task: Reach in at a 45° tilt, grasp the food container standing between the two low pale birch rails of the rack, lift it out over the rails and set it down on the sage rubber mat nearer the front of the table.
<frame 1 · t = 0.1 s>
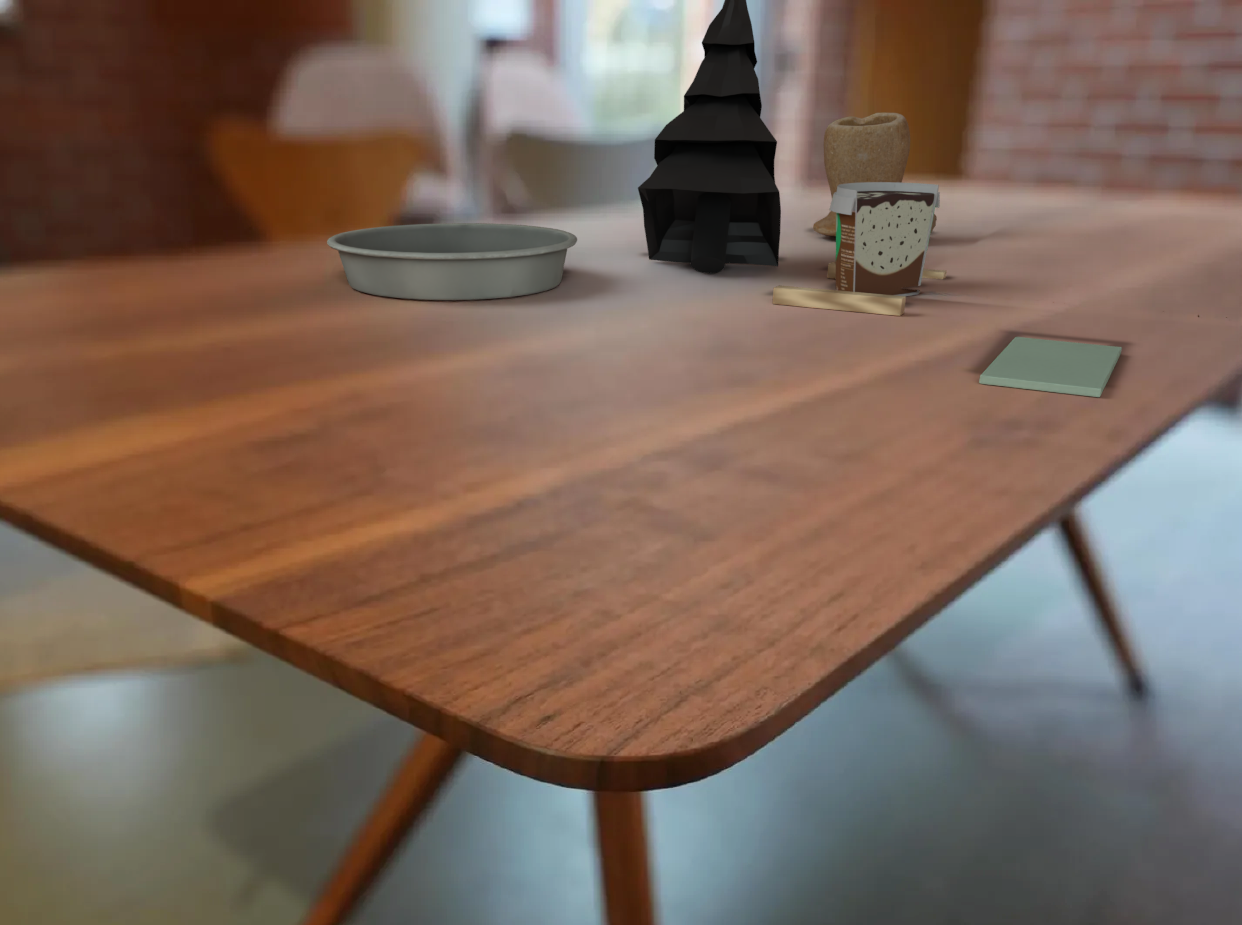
decorative tree: (713, 265, 131), on the table
stone cup: (870, 242, 150), on the table
mat: (1053, 368, 86), on the table
food container: (862, 296, 114), on the table
rack: (862, 294, 114), on the table
cake pan: (455, 284, 118), on the table
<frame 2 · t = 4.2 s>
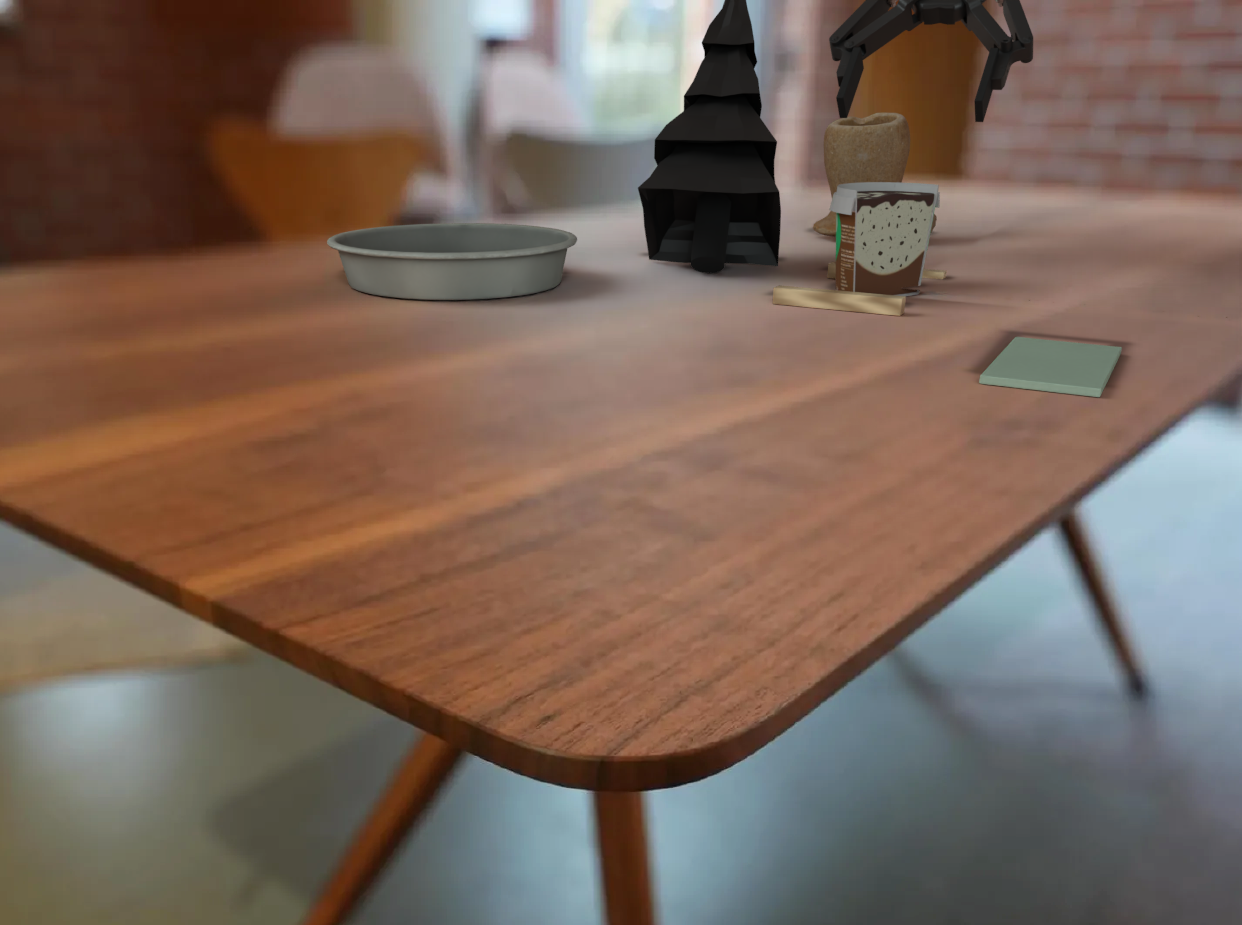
hand: (908, 110, 115), 16 cm above the table, tool tilted 45°, fingers open, 13 cm apart
nothing on the table moved.
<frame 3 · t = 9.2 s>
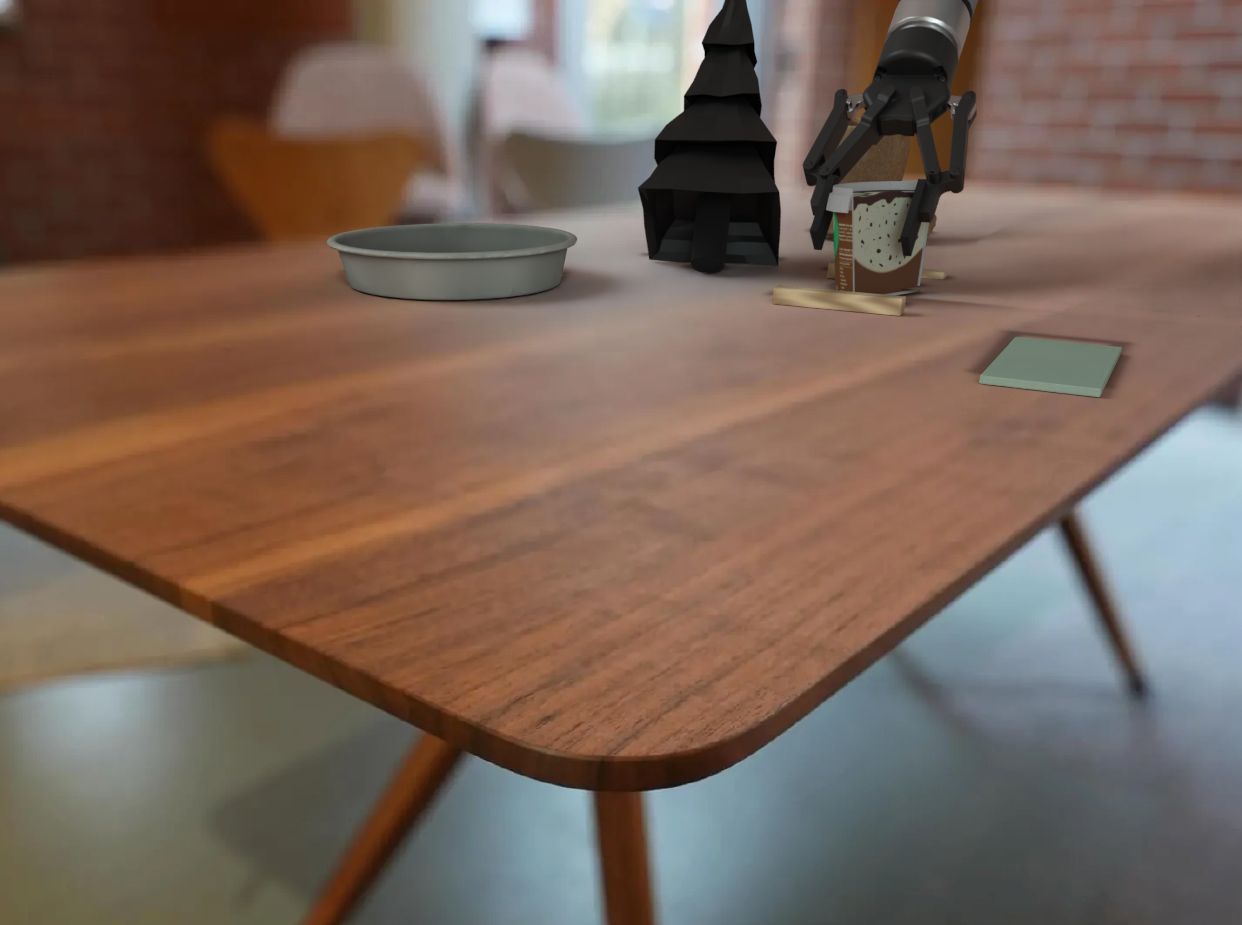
hand: (860, 243, 109), 5 cm above the table, tool tilted 45°, fingers closed on food container, 8 cm apart
food container: (862, 295, 114), on the table, touching gripper
everything else where it was.
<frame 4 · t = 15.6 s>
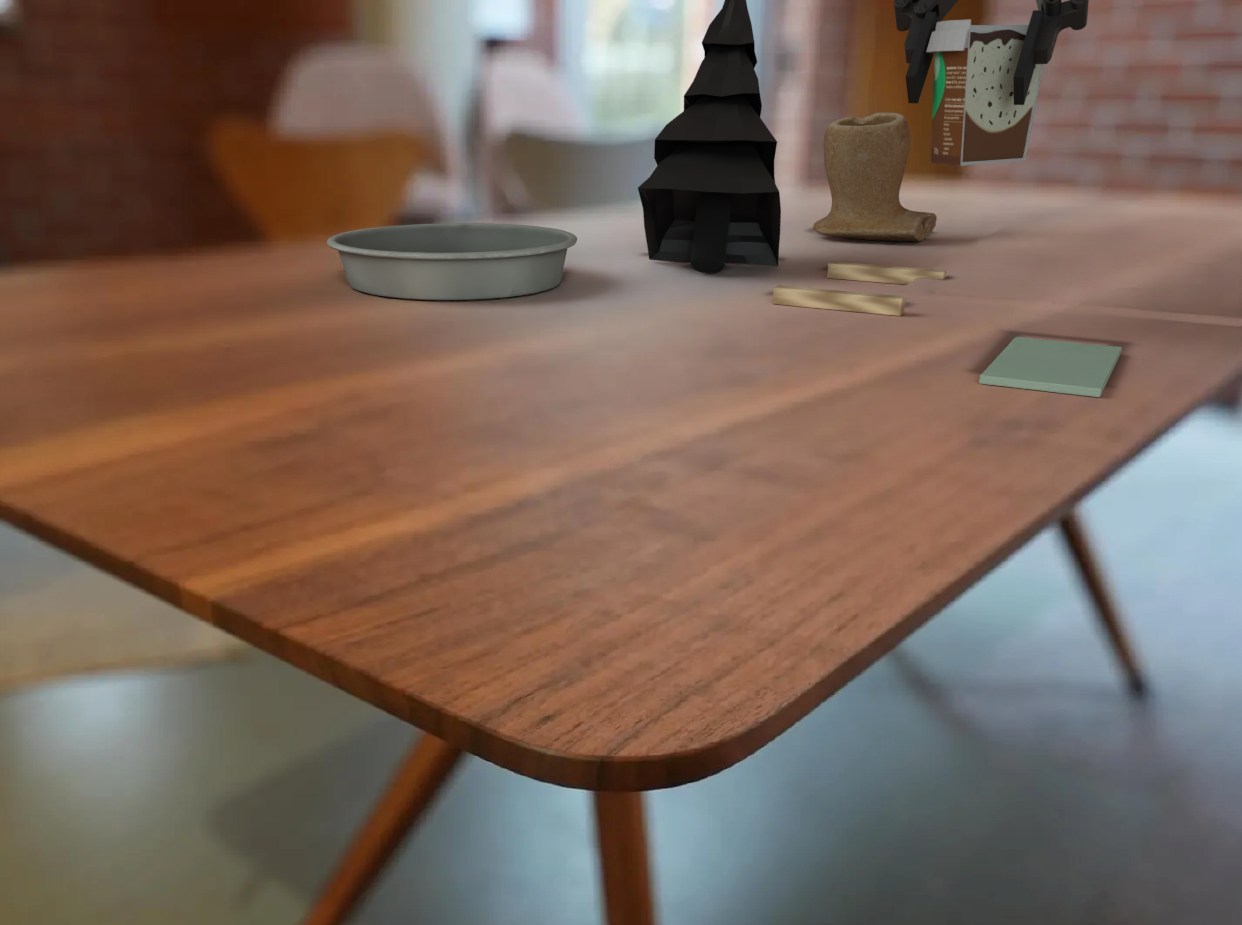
hand: (964, 90, 90), 18 cm above the table, tool tilted 45°, fingers closed on food container, 7 cm apart
food container: (960, 164, 95), point 13 cm above the table, touching gripper
everything else where it was.
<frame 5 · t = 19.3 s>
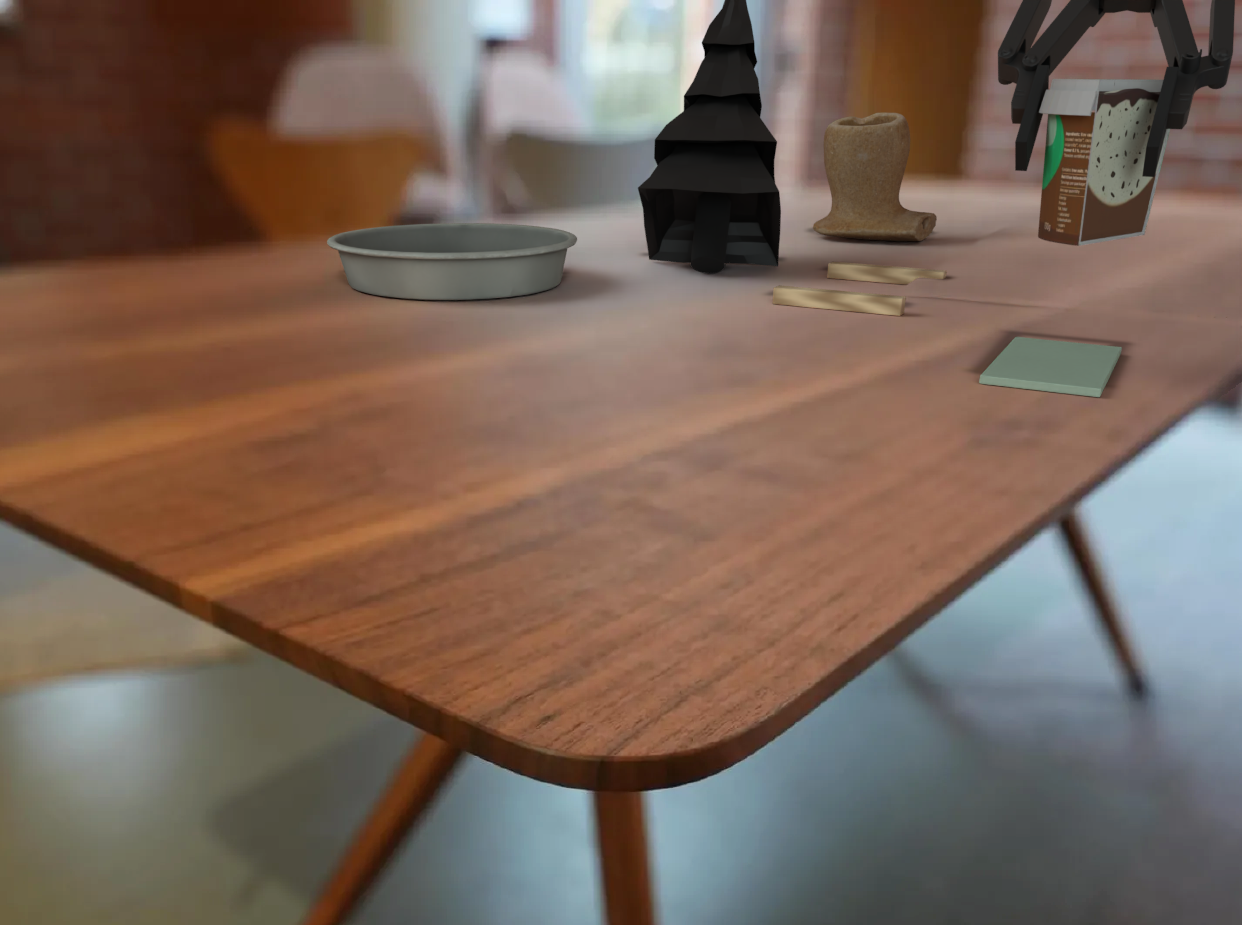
hand: (1084, 158, 77), 15 cm above the table, tool tilted 45°, fingers closed on food container, 7 cm apart
food container: (1070, 238, 83), point 9 cm above the table, touching gripper
everything else where it was.
when the fingers open (6 cm above the table, at t = 22.1 s): food container stays where it is, resting on mat.
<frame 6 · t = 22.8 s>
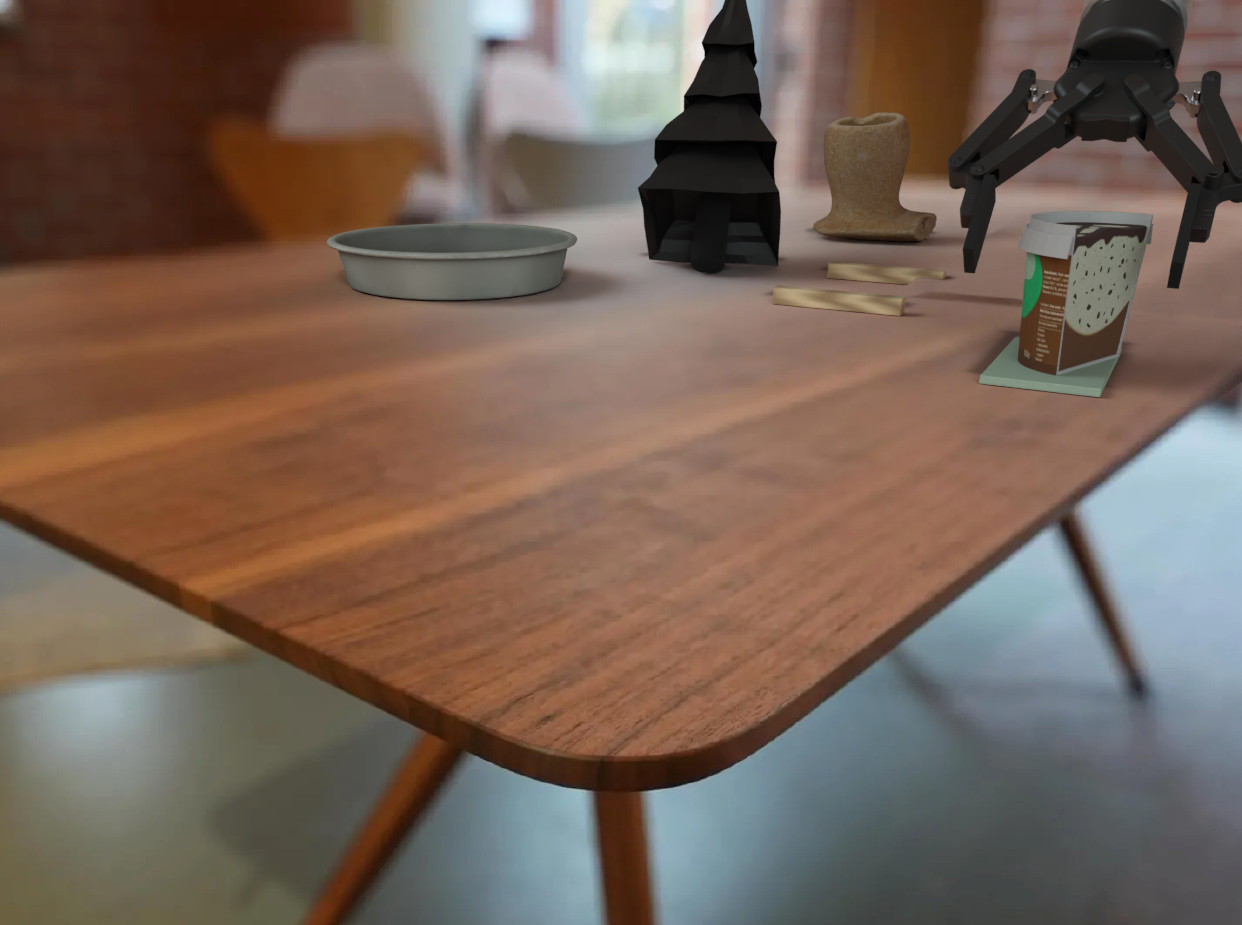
hand: (1068, 268, 81), 7 cm above the table, tool tilted 45°, fingers open, 13 cm apart
food container: (1048, 361, 86), resting on mat
everything else where it was.
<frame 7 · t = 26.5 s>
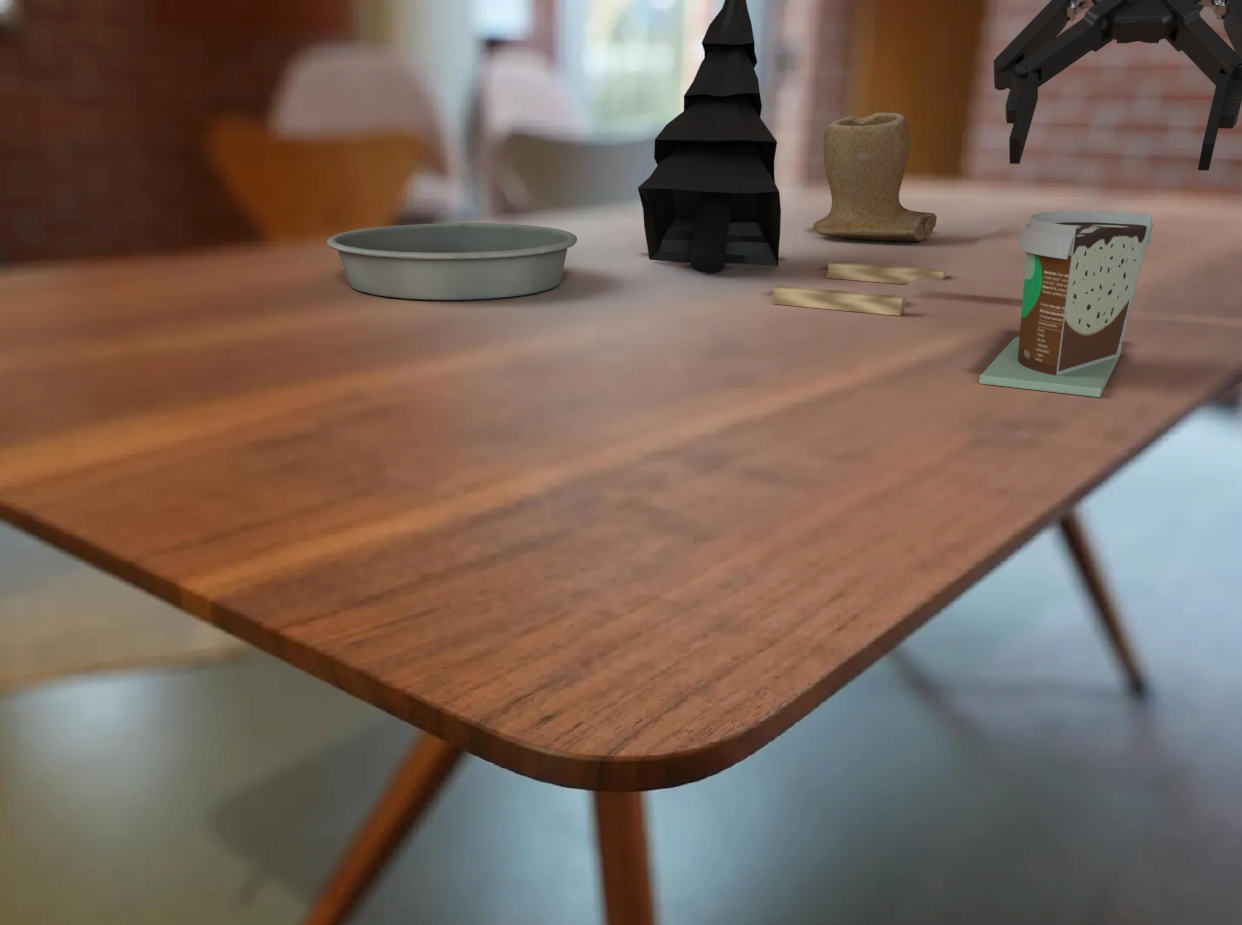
hand: (1107, 154, 89), 14 cm above the table, tool tilted 45°, fingers open, 13 cm apart
nothing on the table moved.
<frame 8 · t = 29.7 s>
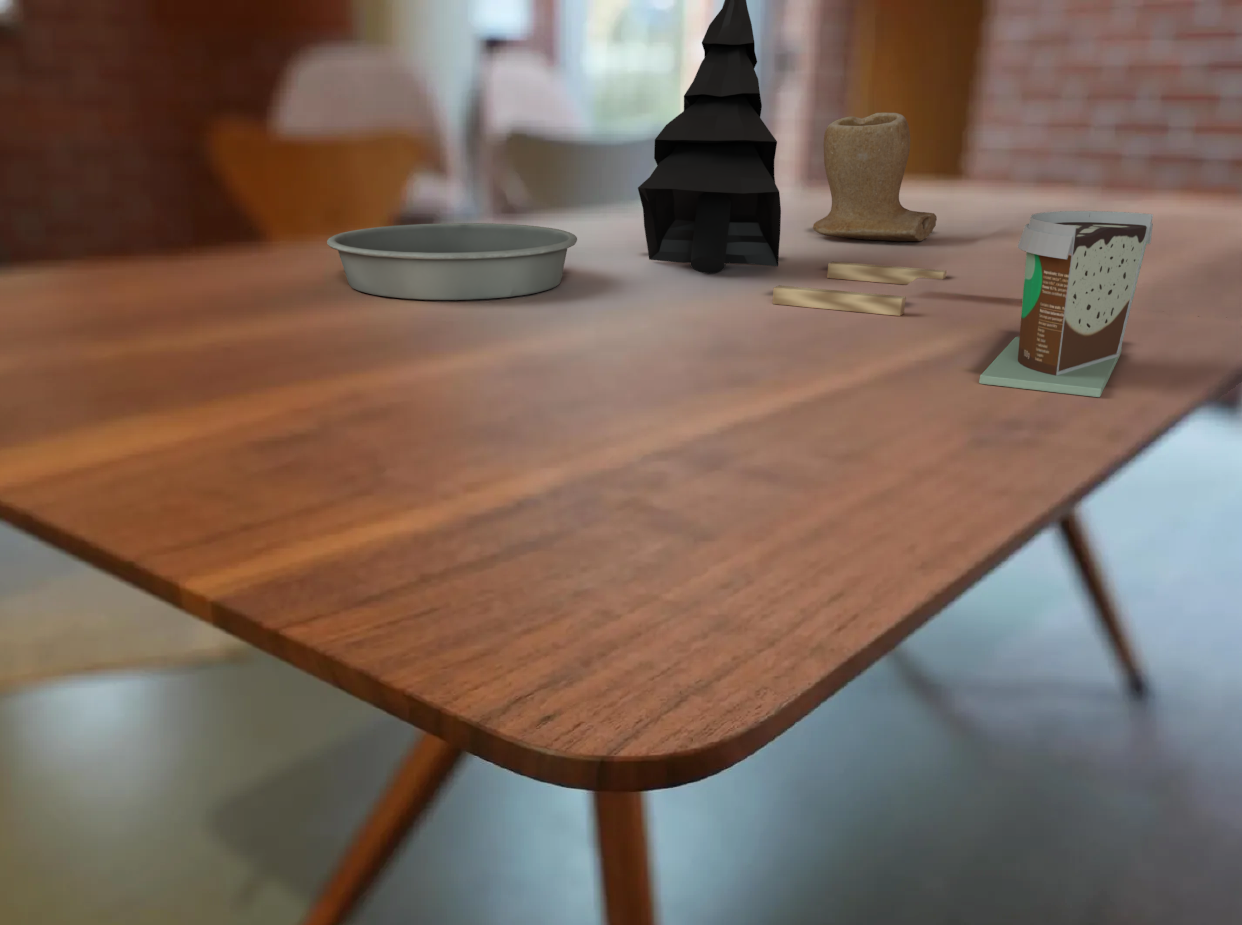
nothing on the table moved.
at the end: food container inside the target area on the mat (0.6 cm from its centre), point 0.4 cm above the mat's base; food container tilted 0°; the gripper is holding nothing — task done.
